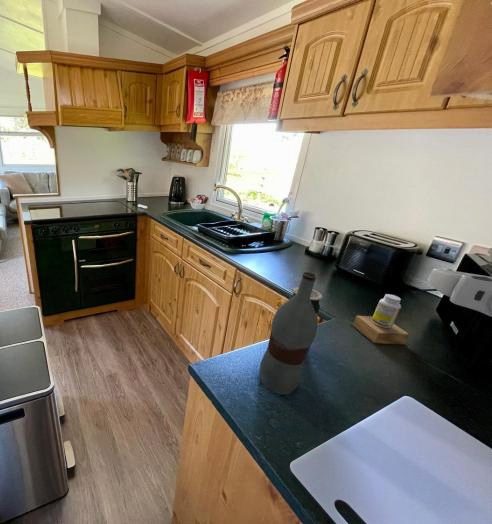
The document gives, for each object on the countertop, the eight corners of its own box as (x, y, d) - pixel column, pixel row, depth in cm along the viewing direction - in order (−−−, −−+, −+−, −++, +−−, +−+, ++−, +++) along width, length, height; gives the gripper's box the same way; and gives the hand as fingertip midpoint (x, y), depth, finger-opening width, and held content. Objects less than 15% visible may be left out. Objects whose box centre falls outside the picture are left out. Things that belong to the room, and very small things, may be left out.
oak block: (379, 326, 102) (384, 317, 101) (404, 344, 93) (409, 334, 91) (352, 325, 102) (356, 315, 100) (374, 343, 92) (378, 332, 91)
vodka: (249, 371, 76) (277, 266, 65) (279, 367, 78) (311, 265, 67) (272, 399, 68) (308, 284, 57) (304, 394, 70) (345, 283, 59)
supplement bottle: (383, 319, 99) (394, 293, 95) (396, 329, 93) (409, 301, 90) (367, 318, 98) (378, 292, 95) (379, 328, 93) (391, 300, 90)
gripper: (595, 297, 54) (534, 272, 66) (457, 275, 60) (424, 255, 72) (574, 326, 56) (518, 296, 68) (443, 301, 63) (413, 278, 75)
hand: (469, 275), depth 70 cm, fingers open, 8 cm apart
